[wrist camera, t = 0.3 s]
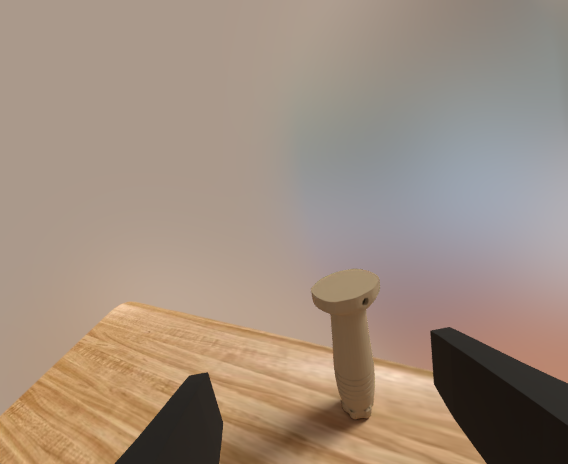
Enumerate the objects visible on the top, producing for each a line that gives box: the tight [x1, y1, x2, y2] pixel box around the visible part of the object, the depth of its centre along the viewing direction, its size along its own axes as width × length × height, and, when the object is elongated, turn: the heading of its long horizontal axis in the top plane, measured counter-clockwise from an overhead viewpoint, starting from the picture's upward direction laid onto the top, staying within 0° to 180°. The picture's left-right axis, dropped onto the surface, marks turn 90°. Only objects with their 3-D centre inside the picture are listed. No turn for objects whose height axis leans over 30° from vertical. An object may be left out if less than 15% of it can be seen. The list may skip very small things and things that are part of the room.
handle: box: [311, 269, 380, 420], centre depth 27 cm, size 5×6×15 cm
